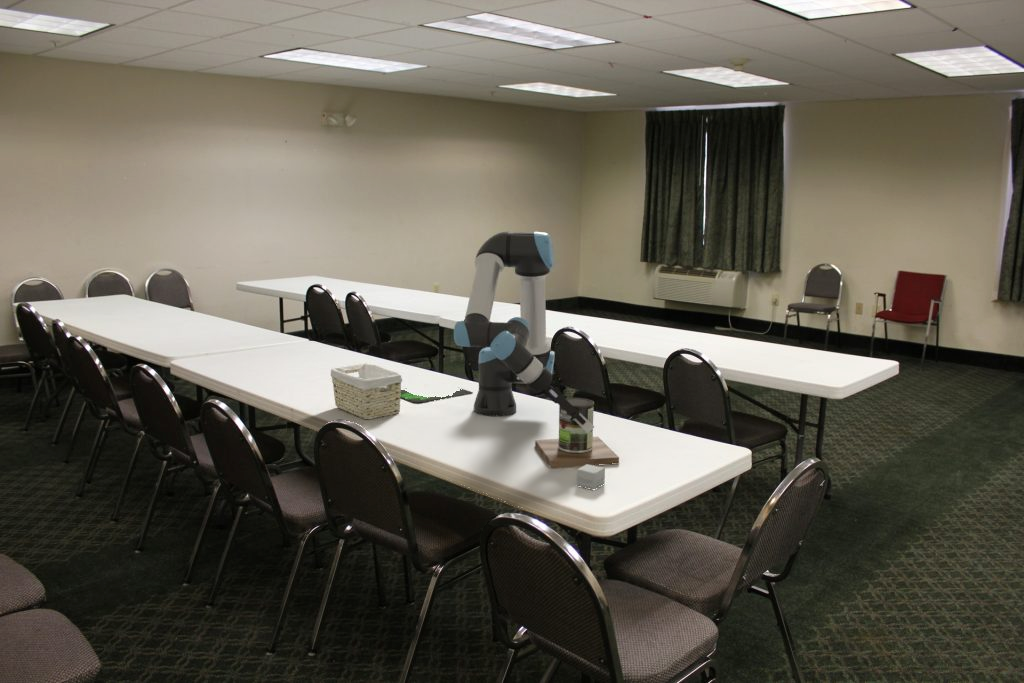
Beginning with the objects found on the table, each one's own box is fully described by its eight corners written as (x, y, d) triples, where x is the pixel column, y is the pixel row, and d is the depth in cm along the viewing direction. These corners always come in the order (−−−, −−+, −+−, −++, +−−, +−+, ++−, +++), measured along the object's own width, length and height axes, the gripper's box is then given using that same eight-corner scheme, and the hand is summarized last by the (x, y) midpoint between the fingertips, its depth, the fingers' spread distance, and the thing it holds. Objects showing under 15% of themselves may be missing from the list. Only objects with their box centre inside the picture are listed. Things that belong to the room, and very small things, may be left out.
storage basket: (404, 414, 276) (404, 373, 273) (364, 422, 266) (363, 379, 263) (369, 400, 294) (368, 362, 291) (330, 408, 283) (328, 367, 281)
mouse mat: (443, 383, 323) (443, 381, 322) (476, 394, 306) (476, 391, 306) (385, 393, 305) (385, 391, 305) (416, 405, 289) (416, 402, 289)
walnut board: (535, 446, 241) (535, 440, 241) (597, 442, 245) (598, 436, 244) (551, 468, 222) (551, 461, 221) (618, 463, 226) (619, 457, 225)
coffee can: (574, 455, 226) (574, 407, 223) (551, 446, 234) (551, 400, 232) (600, 449, 232) (601, 402, 230) (577, 441, 240) (578, 395, 238)
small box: (605, 485, 209) (605, 467, 208) (594, 491, 205) (595, 473, 204) (586, 480, 213) (586, 463, 212) (575, 486, 208) (576, 469, 207)
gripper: (517, 375, 238) (565, 421, 244) (534, 394, 215) (587, 445, 220) (534, 357, 238) (582, 404, 244) (554, 374, 215) (606, 426, 220)
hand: (584, 423), depth 232 cm, fingers open, 12 cm apart
